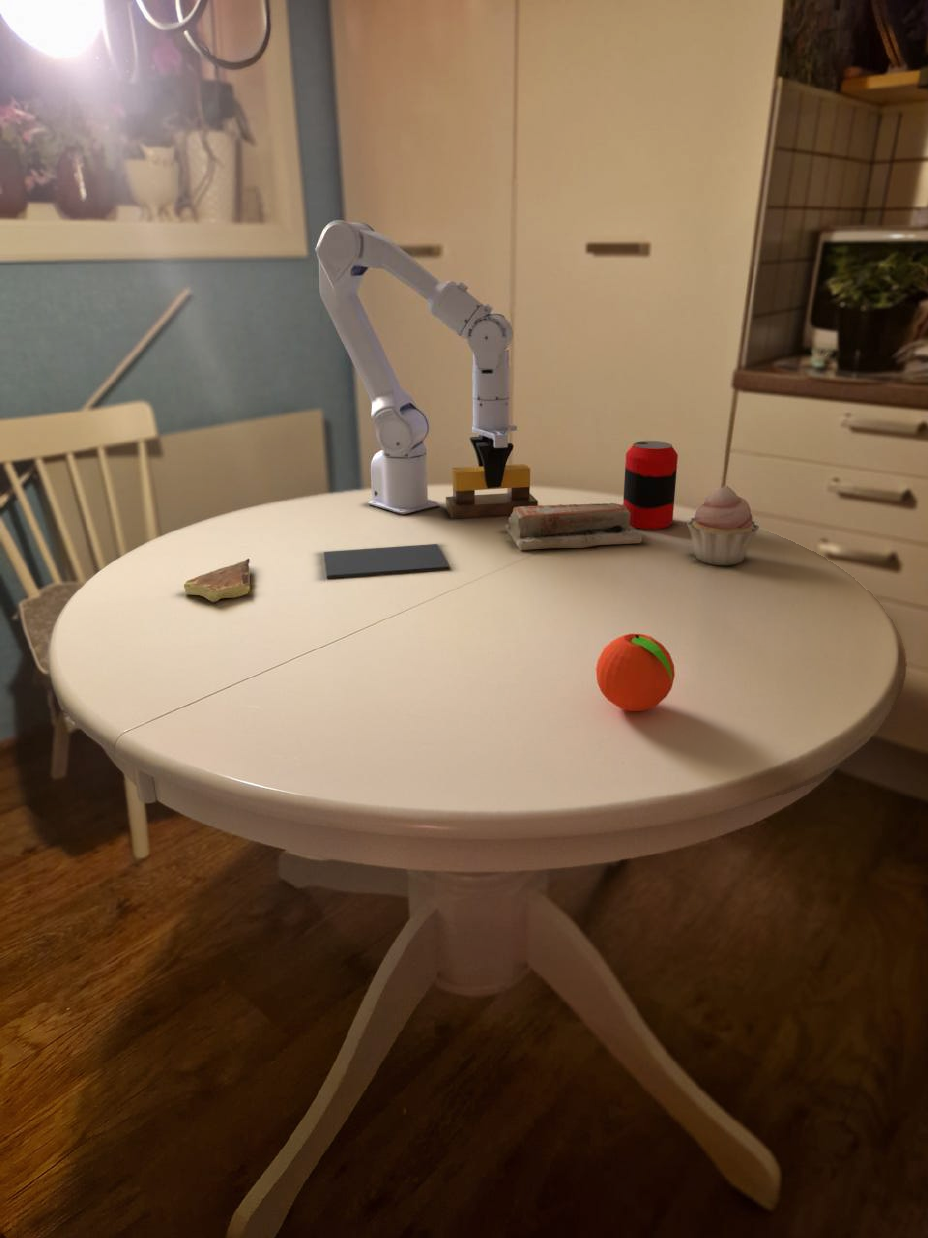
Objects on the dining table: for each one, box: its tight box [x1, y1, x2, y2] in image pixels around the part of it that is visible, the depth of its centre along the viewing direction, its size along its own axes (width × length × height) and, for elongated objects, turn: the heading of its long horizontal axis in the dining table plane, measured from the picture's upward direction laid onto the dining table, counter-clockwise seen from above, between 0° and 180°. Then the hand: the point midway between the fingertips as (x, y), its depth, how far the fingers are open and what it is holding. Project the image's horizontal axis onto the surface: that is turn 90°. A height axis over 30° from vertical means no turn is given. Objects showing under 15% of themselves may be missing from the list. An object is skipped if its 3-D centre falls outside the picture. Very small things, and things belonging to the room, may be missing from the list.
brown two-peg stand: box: [445, 486, 539, 519], centre depth 140 cm, size 14×6×4 cm, turn 101°
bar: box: [451, 463, 531, 491], centre depth 138 cm, size 12×3×3 cm, turn 101°
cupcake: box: [686, 485, 760, 566], centre depth 115 cm, size 9×9×10 cm
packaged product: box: [505, 502, 643, 551], centre depth 125 cm, size 18×5×10 cm
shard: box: [183, 558, 251, 603], centre depth 109 cm, size 11×8×2 cm
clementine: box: [595, 633, 676, 712], centre depth 77 cm, size 8×7×7 cm
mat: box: [323, 543, 450, 579], centre depth 117 cm, size 16×10×1 cm, turn 101°
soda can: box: [622, 440, 679, 530], centre depth 130 cm, size 8×8×12 cm
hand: (491, 484), depth 139 cm, fingers closed on bar, 3 cm apart
